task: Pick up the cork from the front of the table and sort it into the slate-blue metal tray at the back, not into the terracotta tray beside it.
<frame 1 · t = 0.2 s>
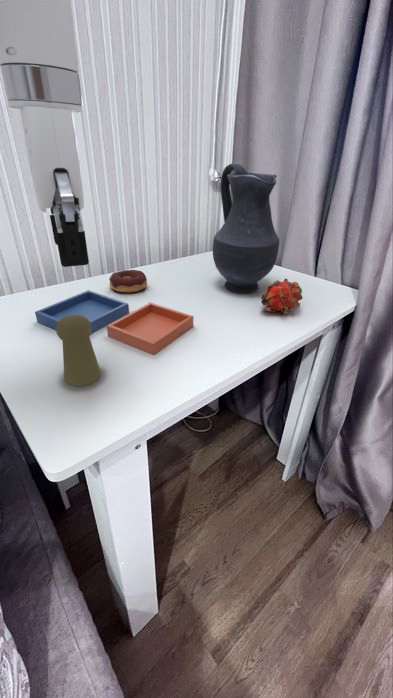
hand: (70, 253, 44), 21 cm above the table, tool pointing down, fingers open, 9 cm apart
pitcher: (236, 285, 95), on the table
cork: (83, 376, 57), on the table
terracotta tray: (152, 331, 71), on the table
blue tray: (84, 317, 75), on the table
dragon fruit: (278, 312, 81), on the table
donut: (128, 288, 90), on the table
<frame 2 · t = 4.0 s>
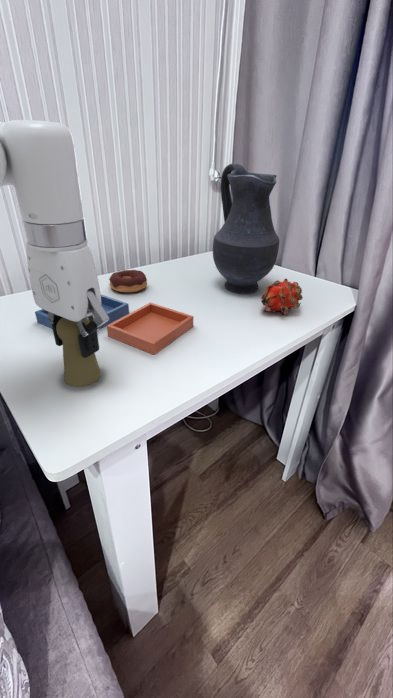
hand: (77, 346, 54), 6 cm above the table, tool pointing down, fingers closed on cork, 5 cm apart
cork: (83, 376, 57), on the table, touching gripper
everything else where it was.
when the fingers open (6 cm above the table, at t = 11.5 s): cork stays where it is, resting on blue tray.
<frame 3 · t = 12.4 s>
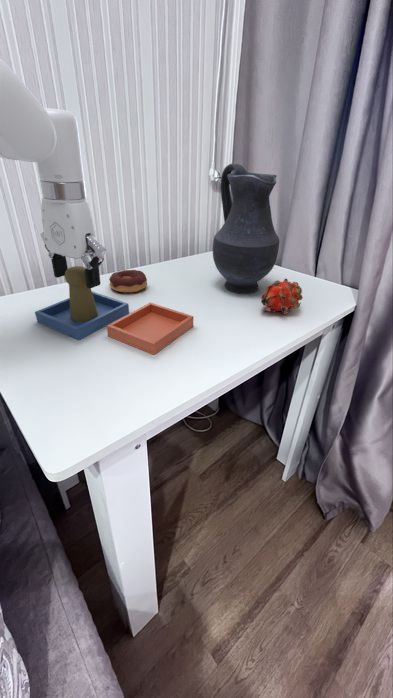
hand: (77, 281, 70), 9 cm above the table, tool pointing down, fingers open, 9 cm apart
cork: (84, 316, 74), resting on blue tray
everything else where it was.
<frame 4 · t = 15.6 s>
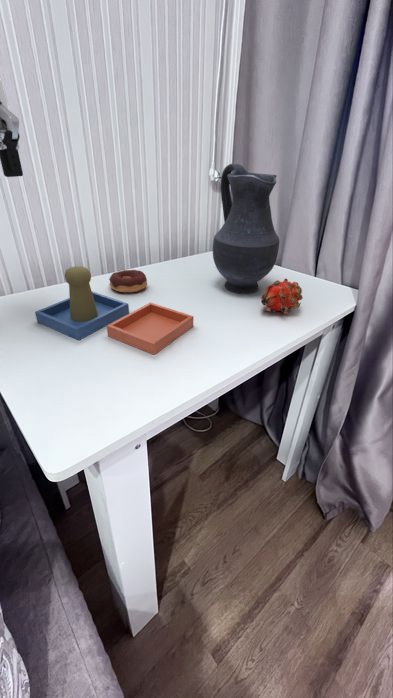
nothing on the table moved.
at the end: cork inside the target area in the blue tray (0.1 cm from its centre), point 0.3 cm above the blue tray's base; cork tilted 0°; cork touching blue tray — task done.
